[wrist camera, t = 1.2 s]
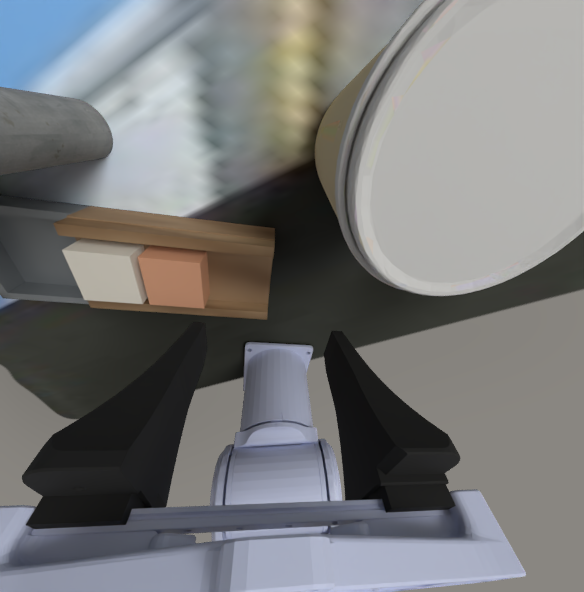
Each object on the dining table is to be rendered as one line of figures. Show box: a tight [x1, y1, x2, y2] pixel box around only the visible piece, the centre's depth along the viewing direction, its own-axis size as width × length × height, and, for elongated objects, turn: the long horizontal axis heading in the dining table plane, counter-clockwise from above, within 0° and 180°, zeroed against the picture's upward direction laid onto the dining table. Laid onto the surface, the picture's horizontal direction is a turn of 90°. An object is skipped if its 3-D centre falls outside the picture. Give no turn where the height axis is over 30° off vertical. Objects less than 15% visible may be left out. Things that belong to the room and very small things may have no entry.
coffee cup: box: [315, 0, 584, 296], centre depth 12 cm, size 9×9×12 cm
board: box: [53, 206, 275, 320], centre depth 19 cm, size 7×14×4 cm, turn 82°
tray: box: [0, 195, 89, 304], centre depth 19 cm, size 8×8×2 cm
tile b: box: [62, 238, 148, 304], centre depth 17 cm, size 4×4×2 cm
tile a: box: [138, 245, 210, 309], centre depth 18 cm, size 4×4×2 cm
